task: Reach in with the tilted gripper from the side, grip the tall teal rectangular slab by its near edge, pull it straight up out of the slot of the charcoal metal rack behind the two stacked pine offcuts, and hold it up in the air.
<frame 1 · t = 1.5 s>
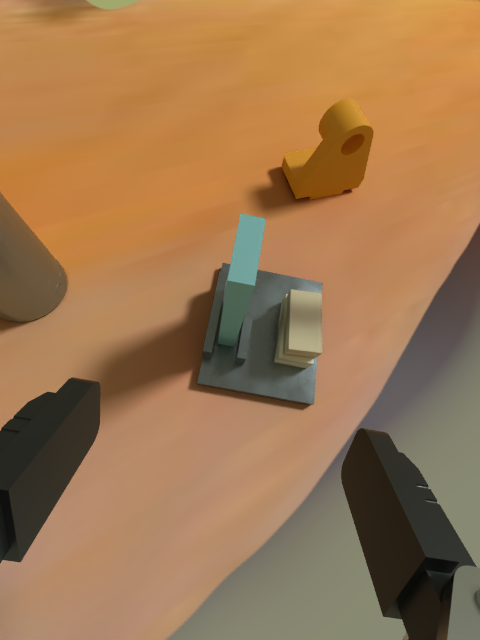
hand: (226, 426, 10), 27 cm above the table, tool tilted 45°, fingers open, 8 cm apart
teal rectangular slab: (230, 321, 38), point 1 cm above the table, touching rack
bracket: (316, 180, 50), on the table
rack: (252, 329, 39), on the table
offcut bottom: (293, 334, 38), point 1 cm above the table, touching offcut top, rack
offcut top: (299, 327, 36), point 4 cm above the table, touching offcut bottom
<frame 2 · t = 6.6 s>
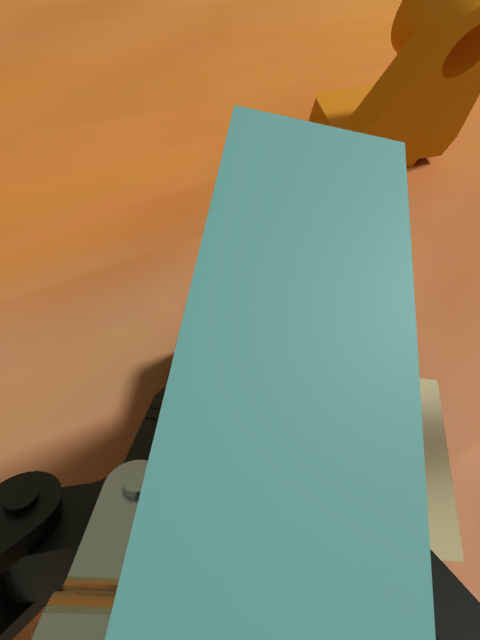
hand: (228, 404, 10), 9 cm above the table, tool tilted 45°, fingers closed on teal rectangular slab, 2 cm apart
teal rectangular slab: (216, 430, 17), point 1 cm above the table, touching gripper, rack
bracket: (368, 144, 29), on the table
offcut top: (378, 455, 15), point 4 cm above the table, touching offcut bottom
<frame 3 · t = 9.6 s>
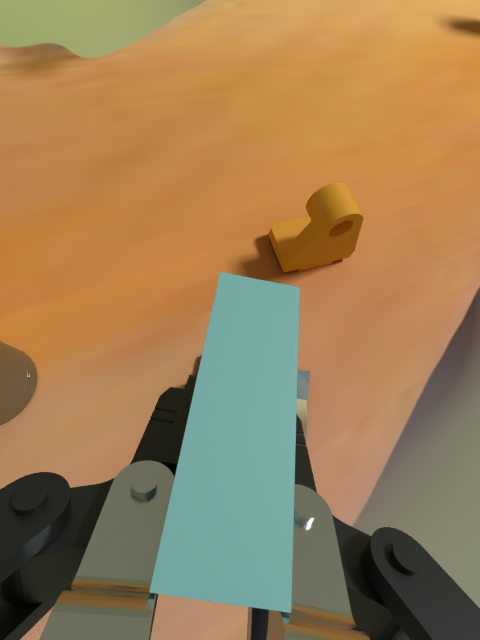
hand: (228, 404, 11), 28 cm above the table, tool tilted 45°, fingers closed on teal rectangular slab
teal rectangular slab: (205, 482, 19), point 17 cm above the table, tilted 13°, touching gripper
bracket: (305, 248, 47), on the table
rack: (234, 426, 37), on the table
offcut top: (283, 433, 34), point 4 cm above the table, touching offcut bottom
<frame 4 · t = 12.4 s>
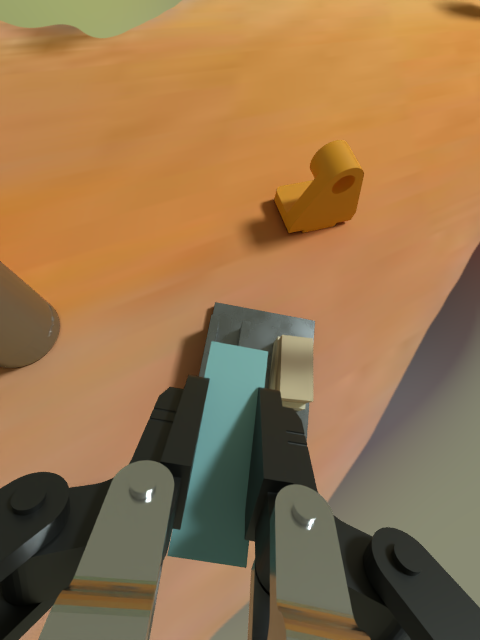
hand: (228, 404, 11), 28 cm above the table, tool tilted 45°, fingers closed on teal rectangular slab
teal rectangular slab: (206, 470, 23), point 13 cm above the table, tilted 9°, touching gripper
bracket: (309, 212, 50), on the table
rack: (245, 370, 39), on the table
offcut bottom: (285, 375, 38), point 1 cm above the table, touching offcut top, rack
offcut top: (291, 371, 36), point 4 cm above the table, touching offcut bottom
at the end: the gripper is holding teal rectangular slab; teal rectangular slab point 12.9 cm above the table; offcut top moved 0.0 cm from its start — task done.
